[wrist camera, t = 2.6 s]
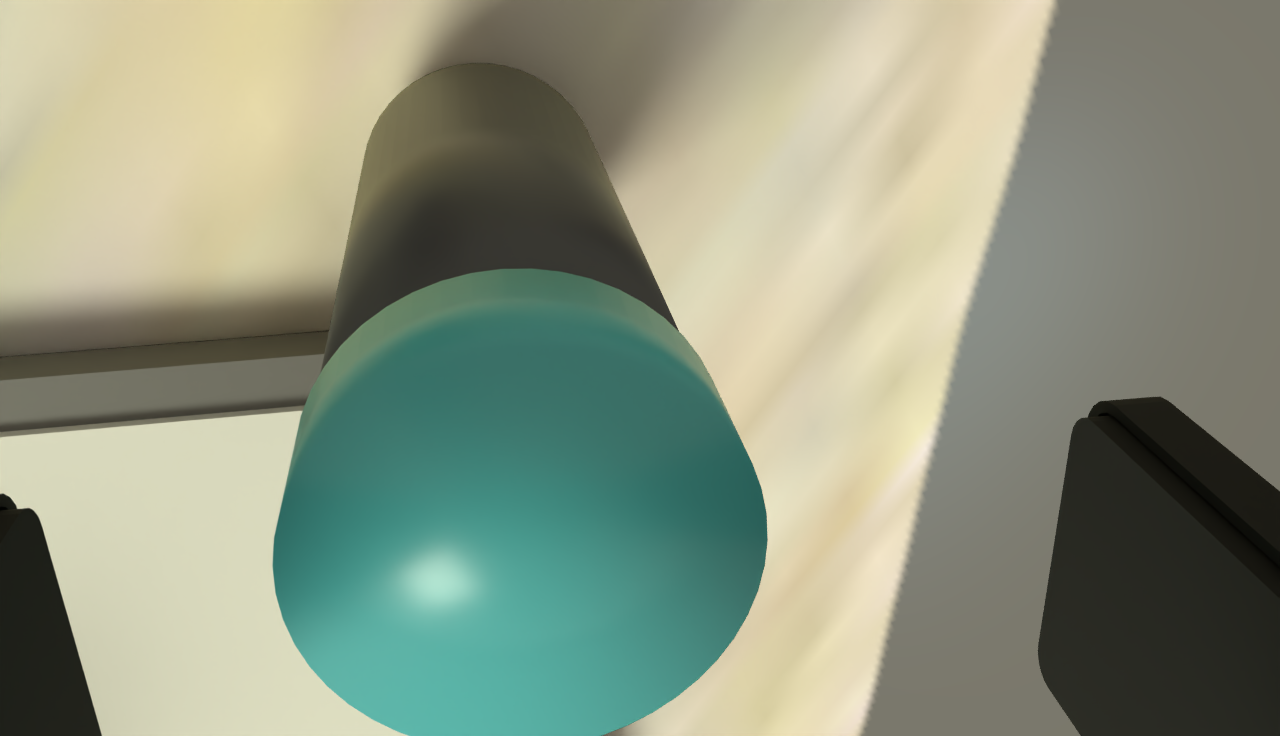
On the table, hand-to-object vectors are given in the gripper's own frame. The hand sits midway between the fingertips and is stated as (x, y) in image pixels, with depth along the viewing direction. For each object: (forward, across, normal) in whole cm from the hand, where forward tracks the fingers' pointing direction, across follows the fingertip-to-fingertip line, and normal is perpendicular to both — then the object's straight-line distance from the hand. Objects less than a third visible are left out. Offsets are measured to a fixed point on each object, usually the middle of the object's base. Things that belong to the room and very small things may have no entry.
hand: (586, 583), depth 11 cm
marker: (+12, +1, -1) cm, 12 cm away
